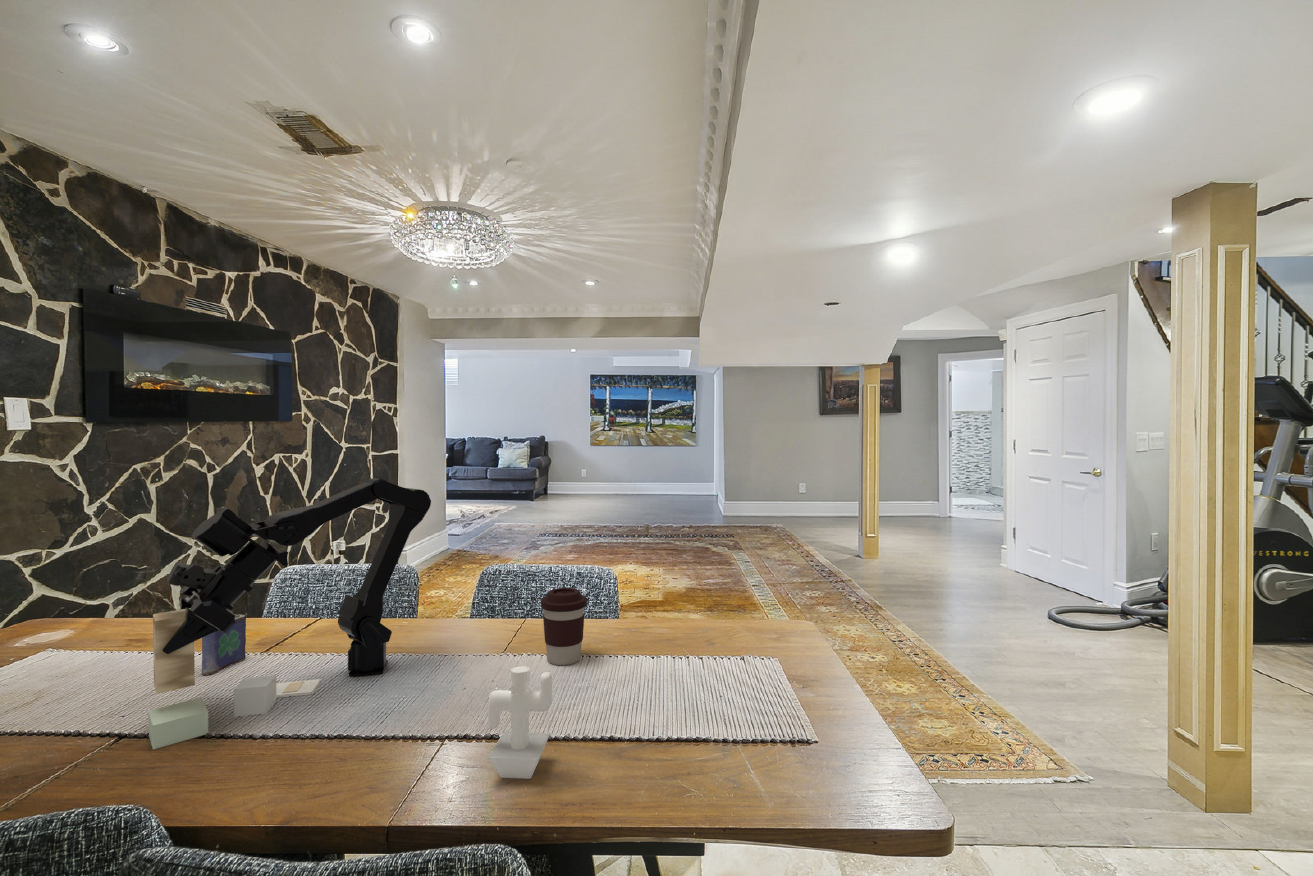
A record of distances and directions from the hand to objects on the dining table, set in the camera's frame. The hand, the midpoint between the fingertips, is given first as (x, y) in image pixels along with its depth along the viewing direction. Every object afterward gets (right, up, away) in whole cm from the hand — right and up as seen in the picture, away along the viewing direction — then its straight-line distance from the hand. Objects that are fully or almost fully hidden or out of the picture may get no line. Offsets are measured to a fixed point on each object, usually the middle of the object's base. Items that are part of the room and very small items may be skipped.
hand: (163, 648), depth 100 cm
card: (+13, -13, +15) cm, 24 cm away
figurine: (+63, -14, -12) cm, 65 cm away
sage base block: (+4, -14, -2) cm, 14 cm away
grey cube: (+11, -14, +7) cm, 19 cm away
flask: (-9, -13, +27) cm, 31 cm away
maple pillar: (+1, -7, +1) cm, 7 cm away
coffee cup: (+62, -13, +30) cm, 71 cm away
